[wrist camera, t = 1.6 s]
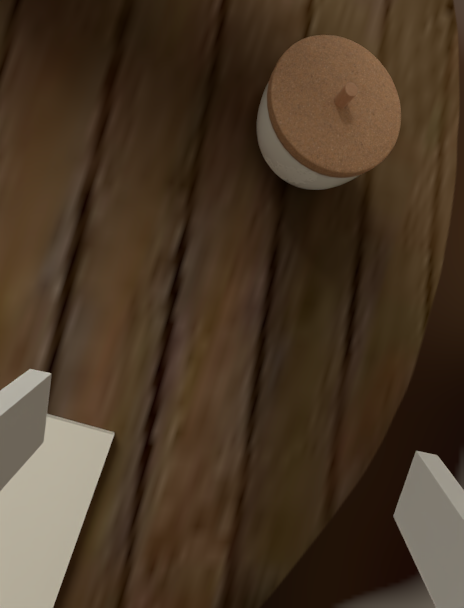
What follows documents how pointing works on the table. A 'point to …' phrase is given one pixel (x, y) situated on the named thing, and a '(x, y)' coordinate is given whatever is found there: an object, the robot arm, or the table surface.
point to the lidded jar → (327, 113)
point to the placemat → (48, 511)
